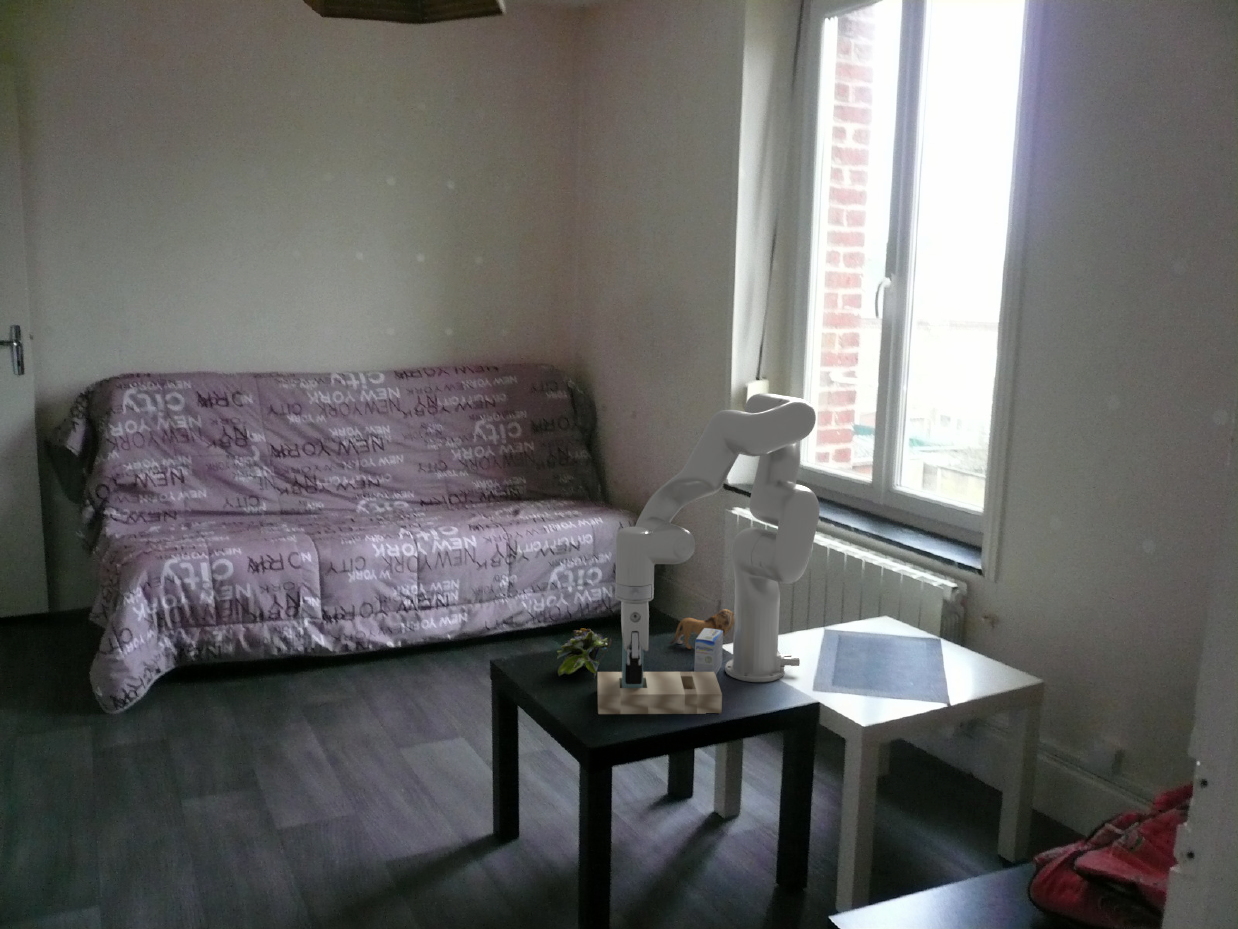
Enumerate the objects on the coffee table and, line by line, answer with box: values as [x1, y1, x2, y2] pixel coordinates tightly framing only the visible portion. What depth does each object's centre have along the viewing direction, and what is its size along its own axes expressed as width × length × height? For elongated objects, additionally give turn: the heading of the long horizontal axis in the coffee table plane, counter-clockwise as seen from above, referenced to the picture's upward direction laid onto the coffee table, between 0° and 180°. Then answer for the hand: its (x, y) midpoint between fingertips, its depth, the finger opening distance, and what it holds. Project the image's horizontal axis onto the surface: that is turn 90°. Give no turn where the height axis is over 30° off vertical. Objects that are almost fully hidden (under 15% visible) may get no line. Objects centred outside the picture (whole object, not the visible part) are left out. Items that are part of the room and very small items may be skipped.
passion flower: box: [556, 628, 613, 679], centre depth 229 cm, size 11×11×12 cm
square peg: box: [621, 643, 645, 688], centre depth 213 cm, size 4×4×10 cm
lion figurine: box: [668, 608, 734, 650], centre depth 246 cm, size 15×5×9 cm, turn 90°
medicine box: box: [693, 628, 724, 676], centre depth 230 cm, size 8×4×9 cm, turn 162°
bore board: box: [596, 671, 723, 715], centre depth 214 cm, size 24×12×4 cm, turn 92°
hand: (632, 678), depth 213 cm, fingers closed on square peg, 4 cm apart
